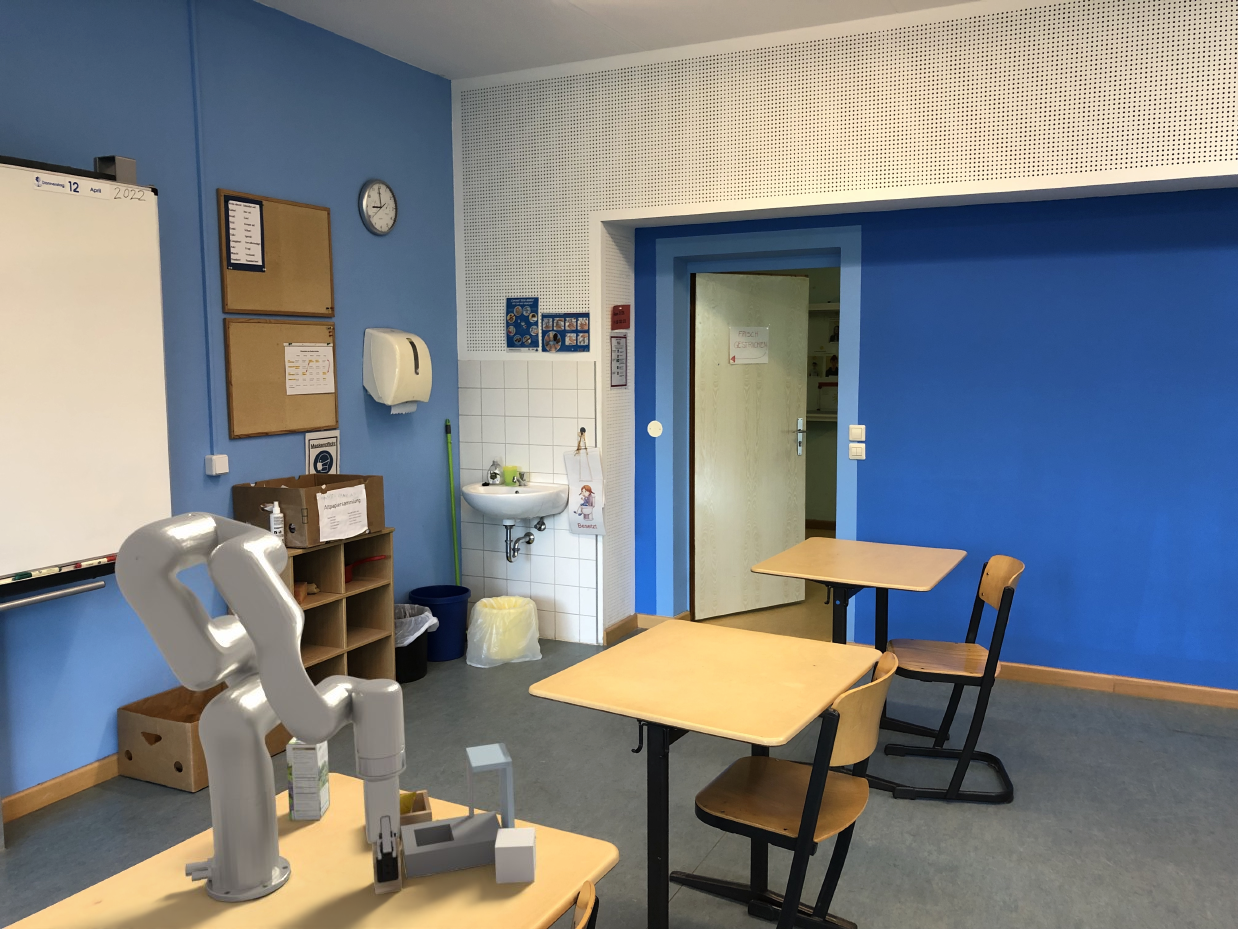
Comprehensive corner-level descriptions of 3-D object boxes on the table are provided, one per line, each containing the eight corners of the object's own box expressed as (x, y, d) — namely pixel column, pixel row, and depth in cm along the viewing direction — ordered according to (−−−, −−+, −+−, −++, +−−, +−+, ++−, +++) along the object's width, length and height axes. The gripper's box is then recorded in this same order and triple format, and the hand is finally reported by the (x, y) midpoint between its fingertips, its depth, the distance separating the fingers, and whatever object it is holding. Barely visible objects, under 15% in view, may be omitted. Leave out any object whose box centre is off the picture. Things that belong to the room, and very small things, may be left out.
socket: (406, 879, 150) (405, 855, 149) (401, 848, 159) (400, 826, 159) (506, 861, 154) (505, 838, 154) (495, 832, 164) (494, 810, 164)
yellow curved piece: (404, 813, 172) (433, 786, 167) (396, 838, 167) (425, 811, 163) (379, 800, 170) (407, 772, 166) (370, 825, 166) (399, 796, 161)
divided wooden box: (379, 842, 162) (377, 820, 161) (376, 818, 170) (375, 797, 170) (432, 833, 164) (431, 811, 164) (427, 810, 173) (426, 789, 172)
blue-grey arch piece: (476, 860, 155) (472, 766, 153) (469, 837, 163) (465, 748, 161) (515, 853, 157) (512, 760, 155) (507, 830, 165) (503, 742, 163)
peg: (375, 895, 145) (371, 833, 144) (374, 881, 149) (370, 821, 148) (401, 890, 147) (398, 828, 146) (400, 877, 150) (396, 817, 149)
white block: (499, 863, 154) (498, 828, 153) (536, 862, 154) (535, 827, 154) (496, 883, 148) (494, 847, 147) (534, 882, 148) (533, 845, 148)
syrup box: (300, 806, 176) (295, 731, 174) (331, 806, 176) (327, 731, 174) (289, 821, 170) (284, 744, 169) (321, 820, 170) (317, 743, 169)
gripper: (354, 744, 153) (360, 851, 155) (357, 787, 137) (364, 906, 139) (401, 737, 155) (407, 843, 157) (410, 779, 139) (416, 896, 141)
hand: (387, 871), depth 148 cm, fingers closed on peg, 4 cm apart
